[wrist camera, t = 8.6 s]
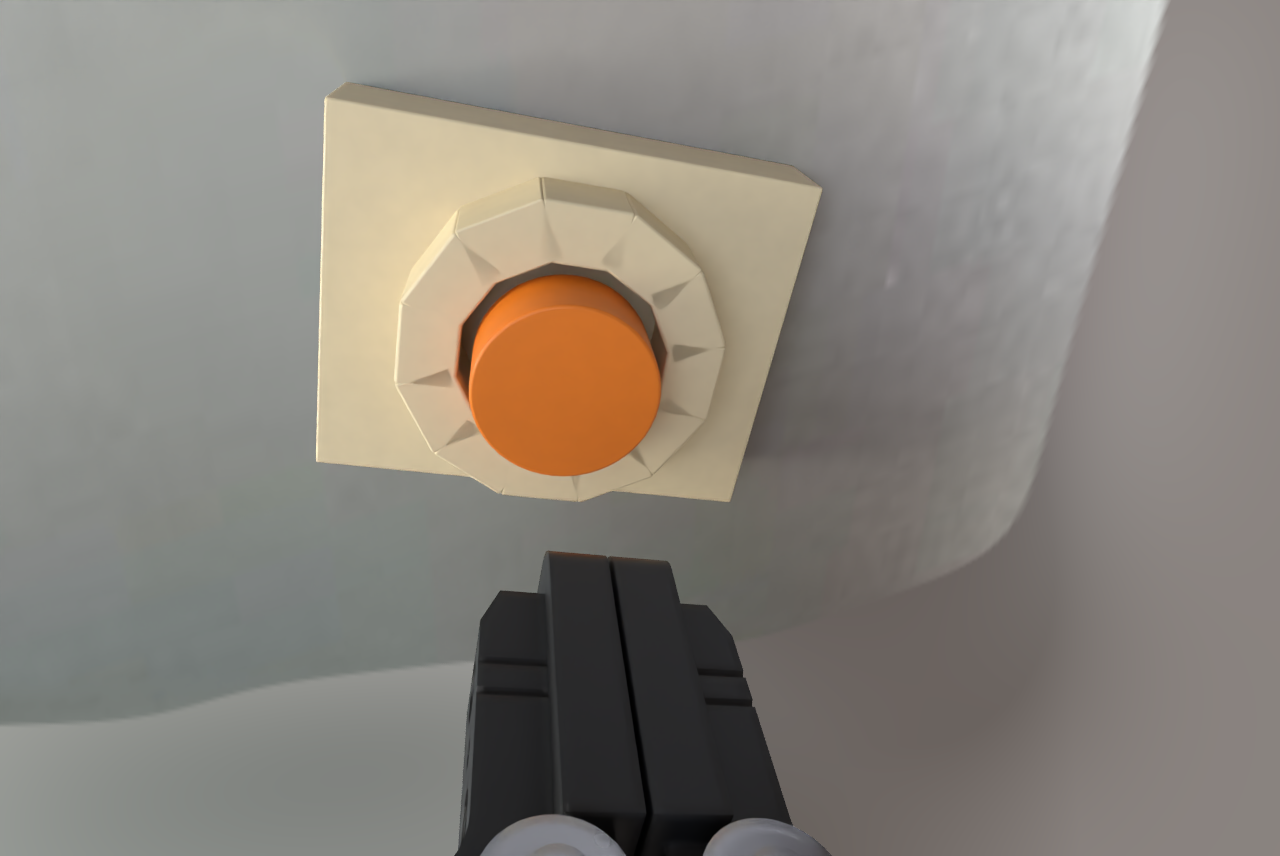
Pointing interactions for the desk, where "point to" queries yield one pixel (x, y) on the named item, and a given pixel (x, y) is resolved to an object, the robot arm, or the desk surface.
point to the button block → (534, 247)
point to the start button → (563, 376)
